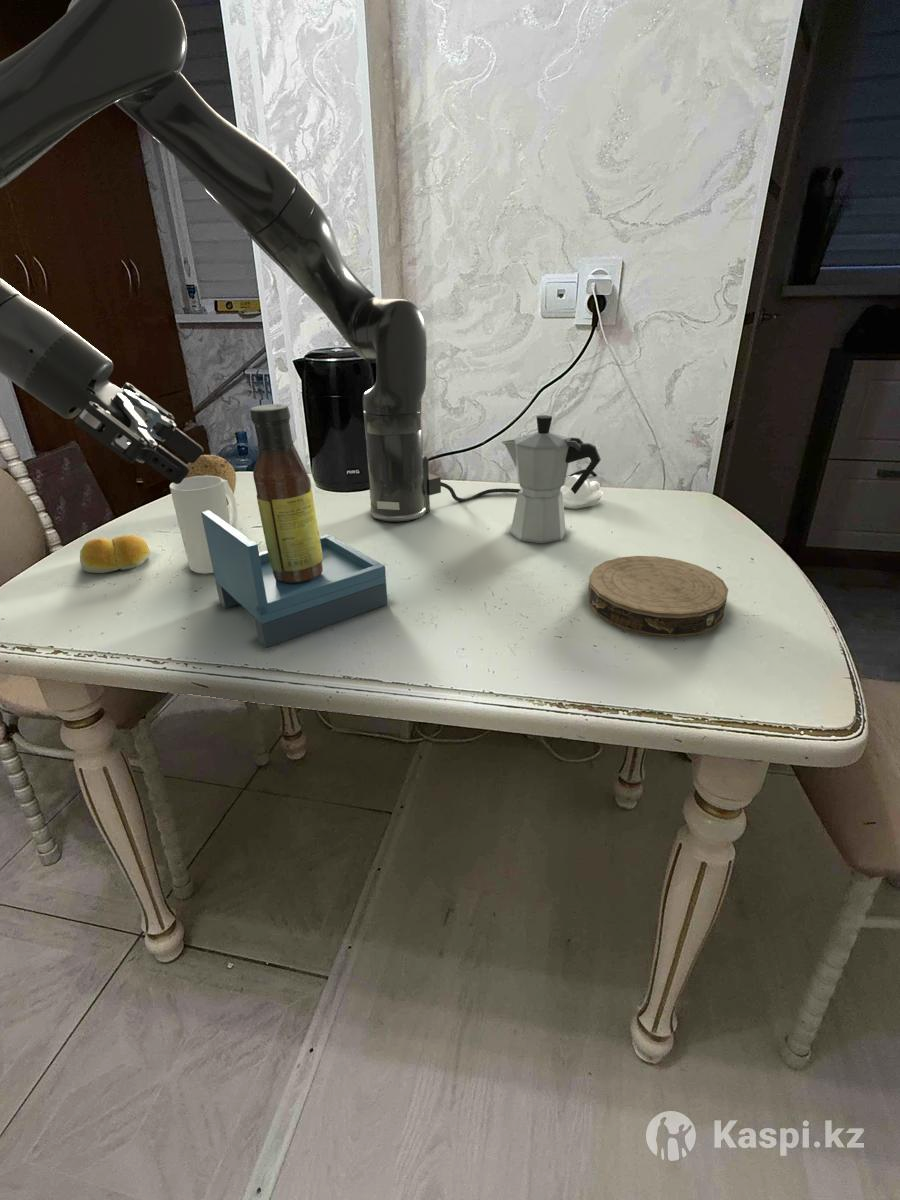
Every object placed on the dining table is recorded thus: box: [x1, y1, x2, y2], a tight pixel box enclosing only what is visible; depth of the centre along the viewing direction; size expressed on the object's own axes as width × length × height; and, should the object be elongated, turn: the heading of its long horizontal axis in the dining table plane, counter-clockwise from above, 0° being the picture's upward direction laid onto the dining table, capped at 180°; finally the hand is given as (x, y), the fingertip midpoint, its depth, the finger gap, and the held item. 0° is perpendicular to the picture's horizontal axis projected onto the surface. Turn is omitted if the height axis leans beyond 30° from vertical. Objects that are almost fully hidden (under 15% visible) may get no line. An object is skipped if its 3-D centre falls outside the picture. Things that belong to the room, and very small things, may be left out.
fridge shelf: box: [201, 510, 389, 648], centre depth 75 cm, size 16×14×12 cm
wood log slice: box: [587, 555, 729, 638], centre depth 75 cm, size 16×16×3 cm
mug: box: [168, 476, 238, 575], centre depth 87 cm, size 10×7×12 cm, turn 159°
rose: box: [560, 474, 603, 510], centre depth 111 cm, size 10×4×10 cm
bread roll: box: [79, 534, 151, 574], centre depth 89 cm, size 8×9×4 cm
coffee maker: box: [500, 414, 602, 544], centre depth 93 cm, size 15×9×18 cm, turn 68°
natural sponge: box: [185, 454, 237, 507], centre depth 107 cm, size 9×9×10 cm
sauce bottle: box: [249, 403, 323, 583], centre depth 71 cm, size 7×6×20 cm
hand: (192, 466), depth 68 cm, fingers open, 8 cm apart
